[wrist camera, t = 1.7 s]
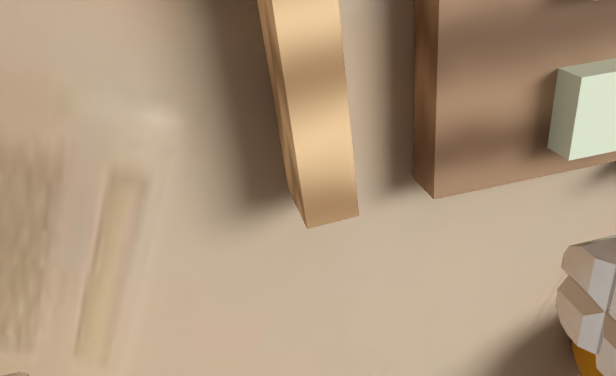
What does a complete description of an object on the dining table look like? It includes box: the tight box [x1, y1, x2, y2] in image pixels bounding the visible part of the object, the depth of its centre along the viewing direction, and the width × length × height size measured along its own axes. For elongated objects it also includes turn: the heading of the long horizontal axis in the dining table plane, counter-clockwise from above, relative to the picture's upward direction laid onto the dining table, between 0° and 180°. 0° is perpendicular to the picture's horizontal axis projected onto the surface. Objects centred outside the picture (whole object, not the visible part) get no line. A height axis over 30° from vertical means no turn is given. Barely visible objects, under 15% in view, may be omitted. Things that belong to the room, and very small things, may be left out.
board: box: [414, 0, 616, 199], centre depth 31 cm, size 18×16×3 cm
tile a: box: [547, 58, 616, 161], centre depth 32 cm, size 5×5×2 cm
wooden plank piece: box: [257, 0, 359, 229], centre depth 28 cm, size 16×3×5 cm, turn 7°
